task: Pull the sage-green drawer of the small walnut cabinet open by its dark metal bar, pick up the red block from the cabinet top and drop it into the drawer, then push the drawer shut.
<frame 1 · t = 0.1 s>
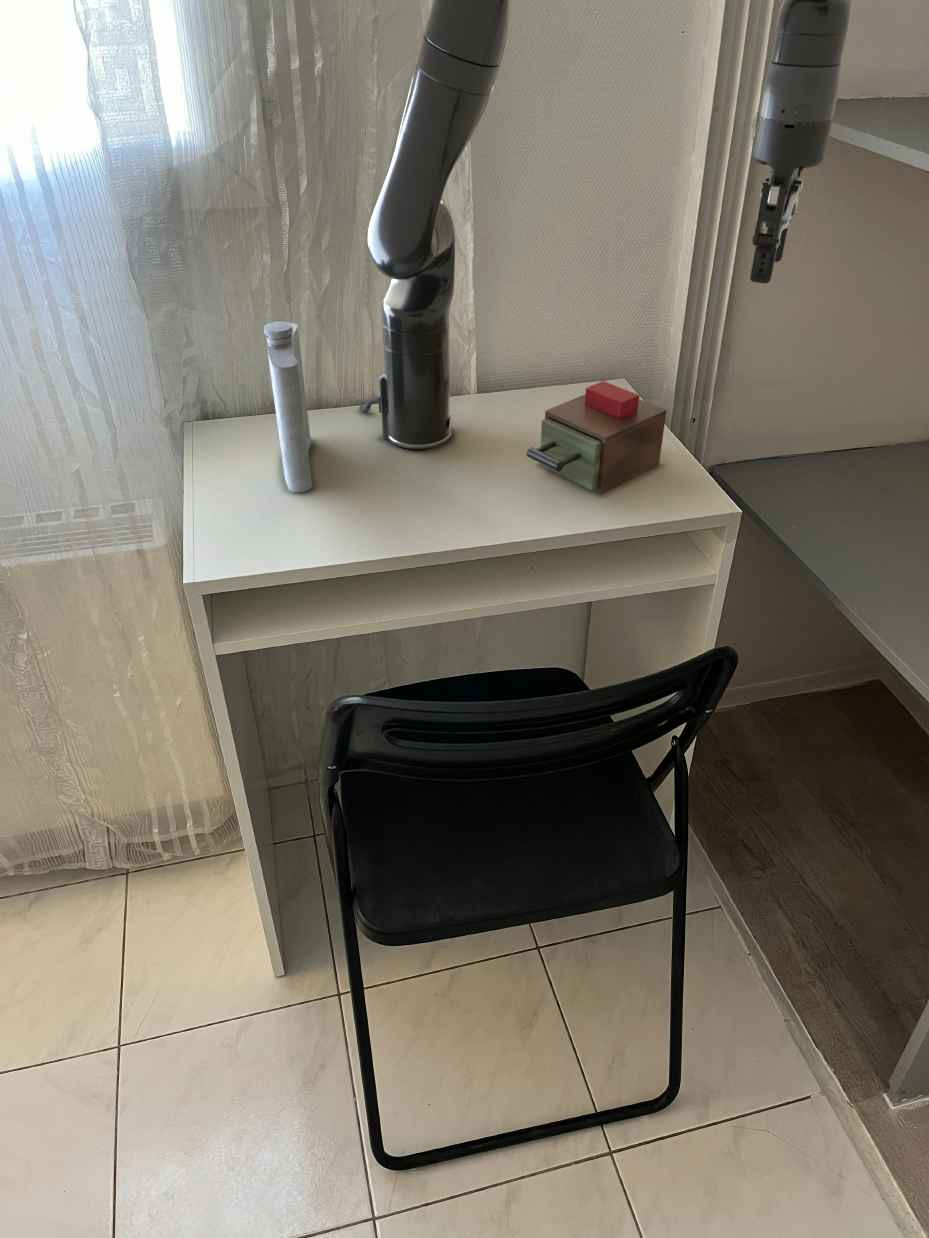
hand: (765, 271, 107), 29 cm above the table, tool pointing down, fingers open, 8 cm apart
drawer: (582, 447, 127), point 4 cm above the table, slide at 0.0 cm
cabinet: (600, 465, 131), on the table
hip flask: (297, 466, 132), on the table
red block: (610, 408, 127), point 8 cm above the table, touching cabinet
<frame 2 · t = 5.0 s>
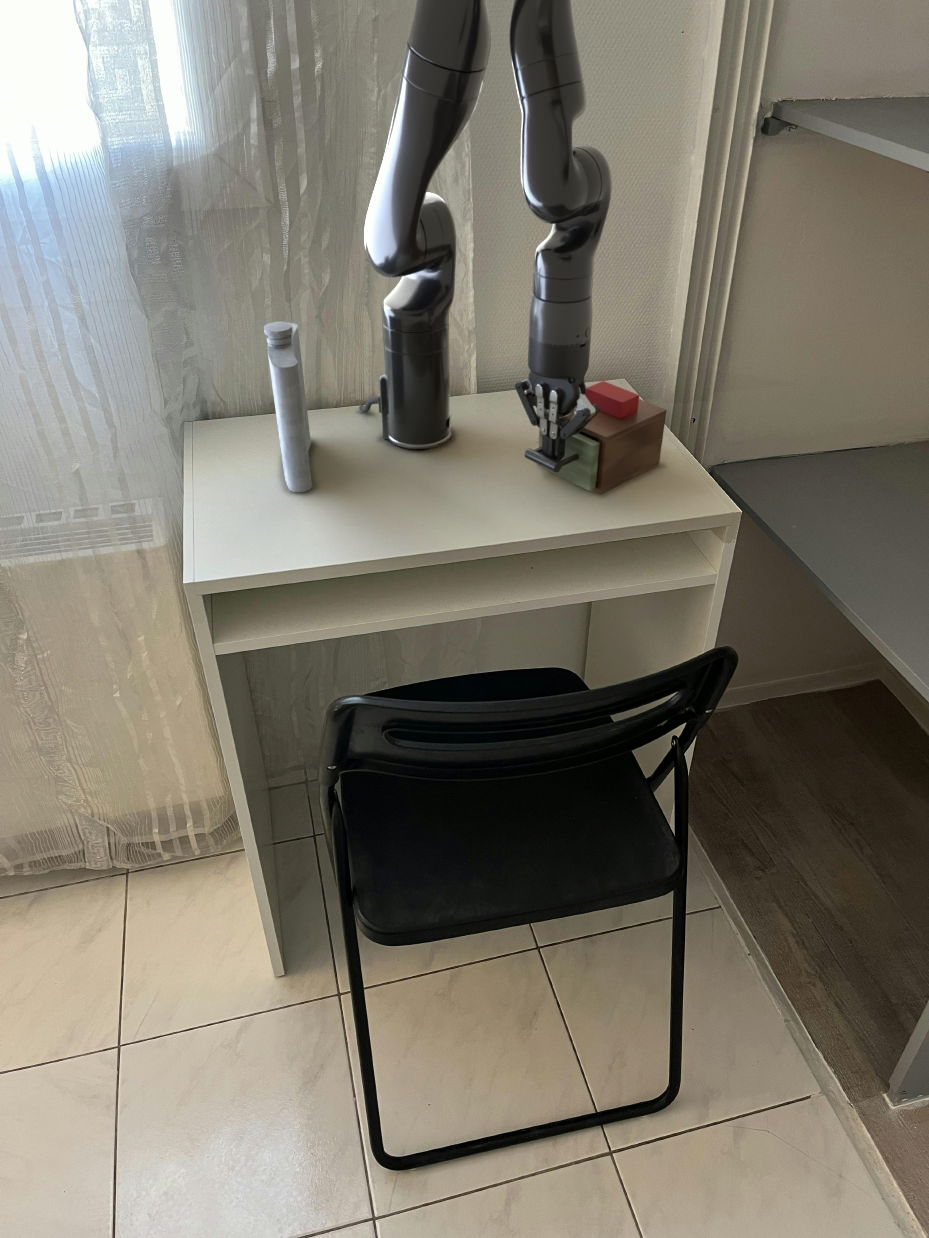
hand: (552, 460, 123), 4 cm above the table, tool pointing down, fingers closed
drawer: (580, 448, 127), point 4 cm above the table, slide at 0.4 cm, touching gripper
everything else where it was.
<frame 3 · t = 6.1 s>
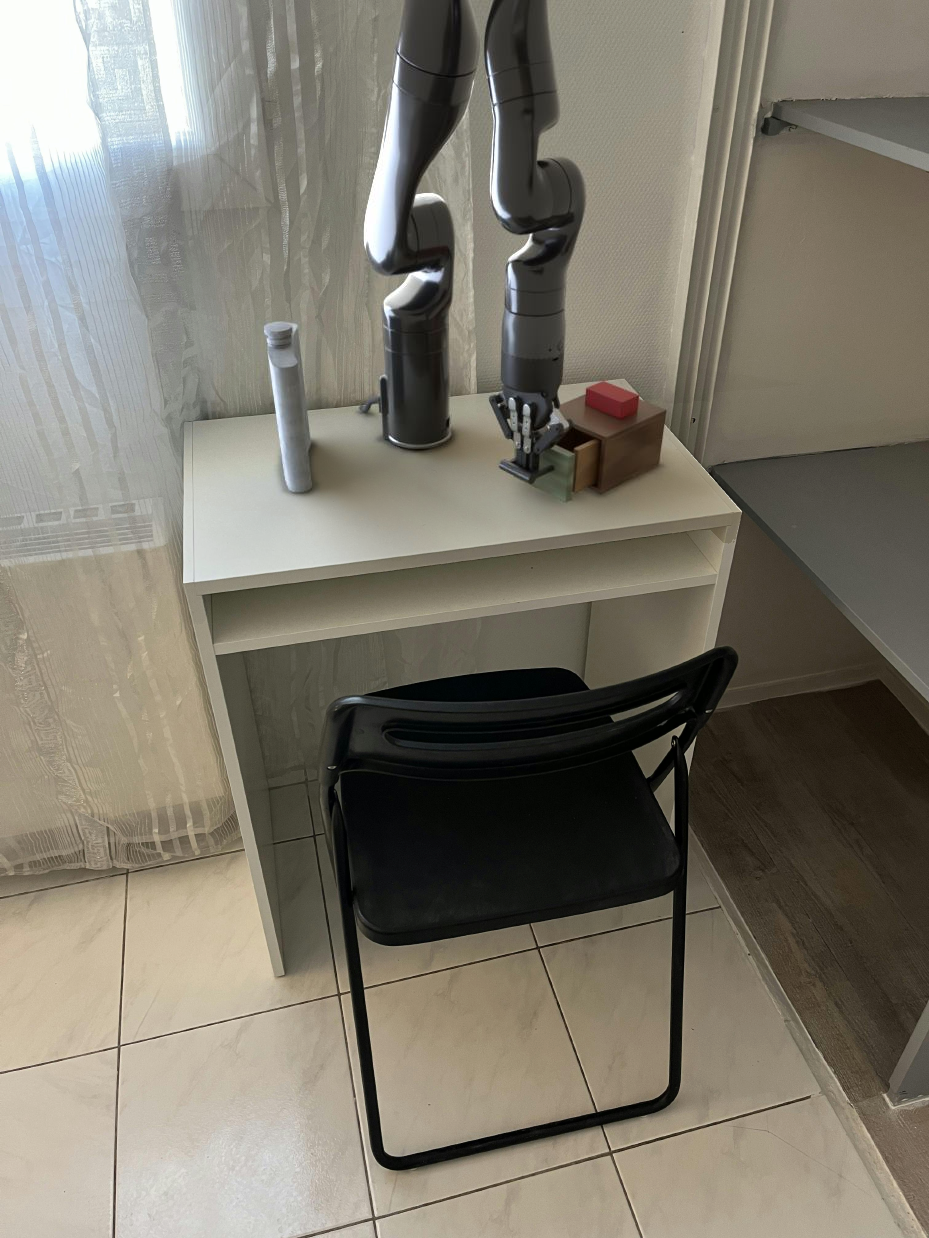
hand: (527, 474, 121), 4 cm above the table, tool pointing down, fingers closed
drawer: (557, 459, 124), point 4 cm above the table, slide at 5.1 cm, touching gripper
everything else where it was.
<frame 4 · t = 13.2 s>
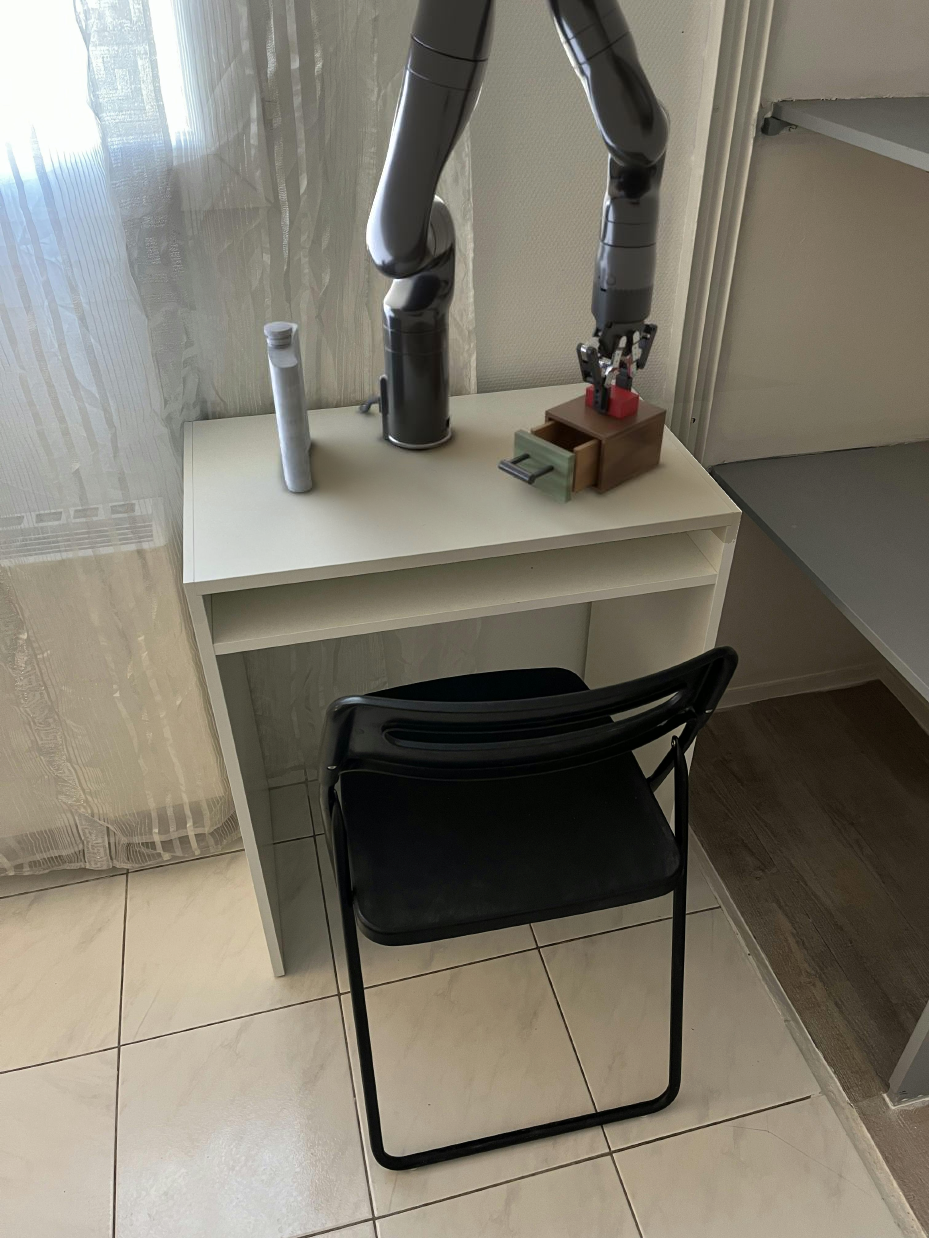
hand: (611, 406, 127), 9 cm above the table, tool pointing down, fingers closed on red block, 3 cm apart
drawer: (556, 459, 124), point 4 cm above the table, slide at 5.2 cm
red block: (610, 408, 127), point 8 cm above the table, touching cabinet, gripper
everything else where it was.
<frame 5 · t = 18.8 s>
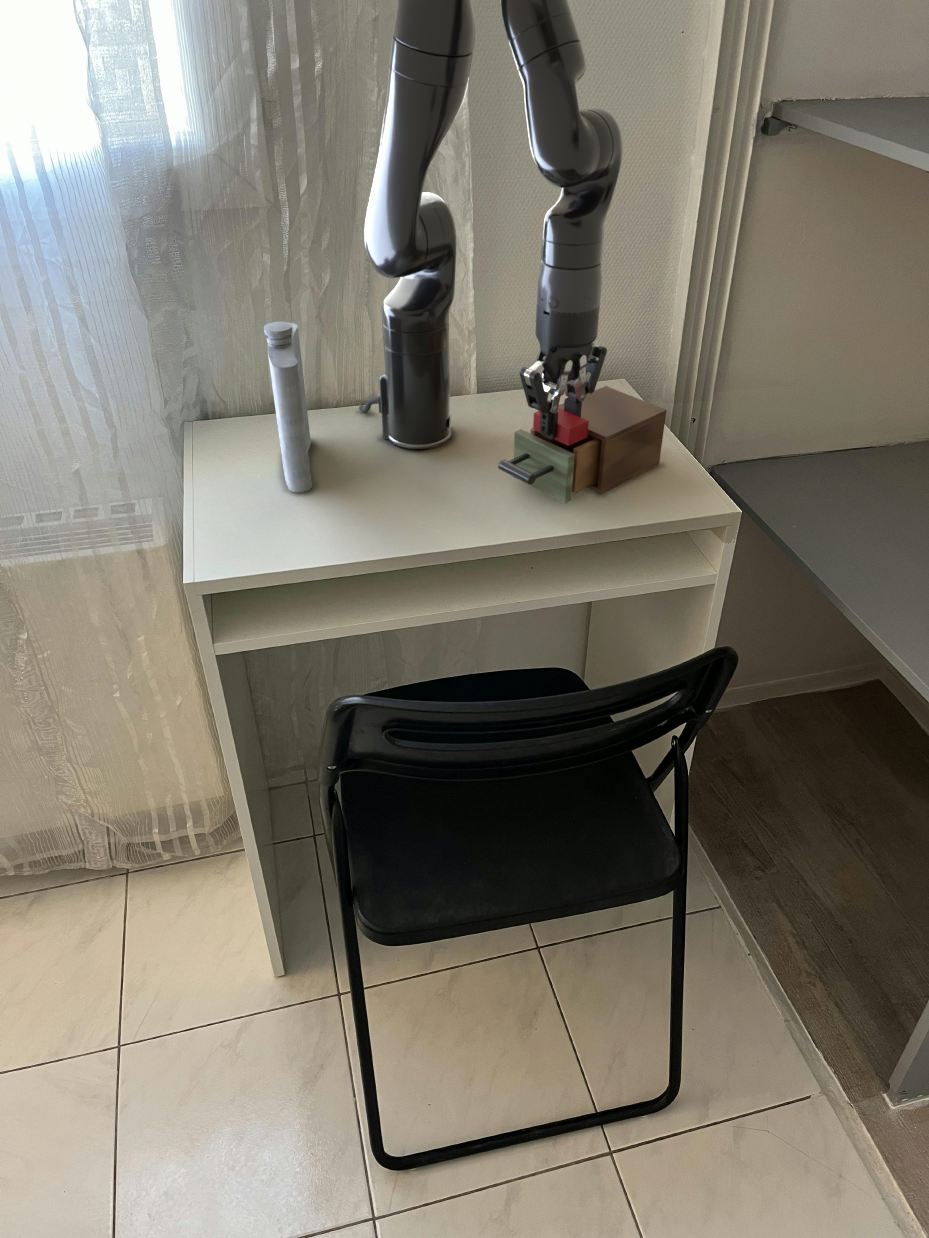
hand: (559, 431, 122), 8 cm above the table, tool pointing down, fingers closed on red block, 3 cm apart
red block: (559, 433, 122), point 8 cm above the table, touching gripper
everything else where it was.
when the fingers open (8 cm above the table, at t = 24.9 s): red block drops 6 cm, resting on drawer.
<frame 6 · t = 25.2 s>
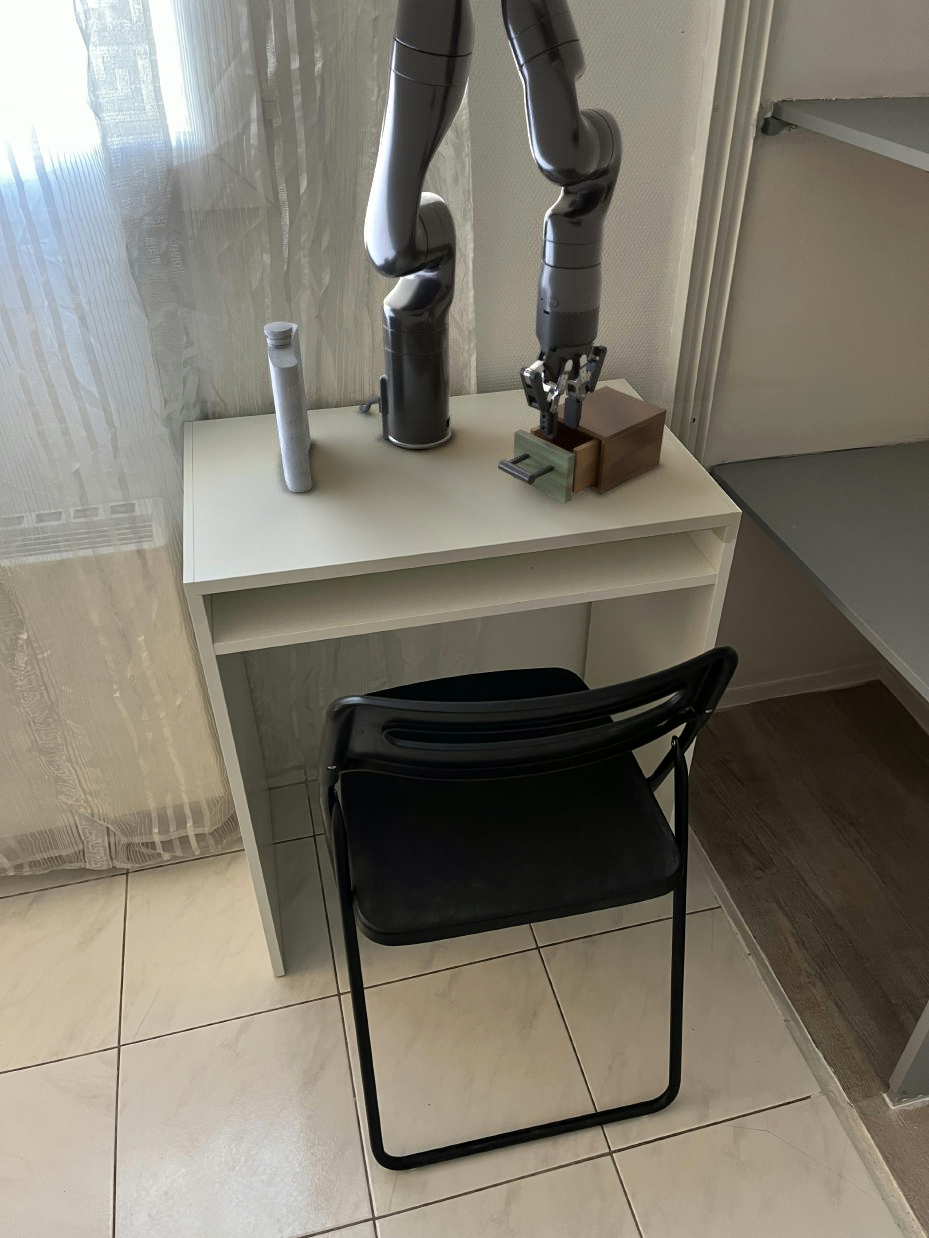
hand: (559, 430, 122), 8 cm above the table, tool pointing down, fingers open, 3 cm apart
drawer: (556, 459, 124), point 4 cm above the table, slide at 5.2 cm, touching red block
red block: (558, 474, 126), point 2 cm above the table, touching drawer
everything else where it was.
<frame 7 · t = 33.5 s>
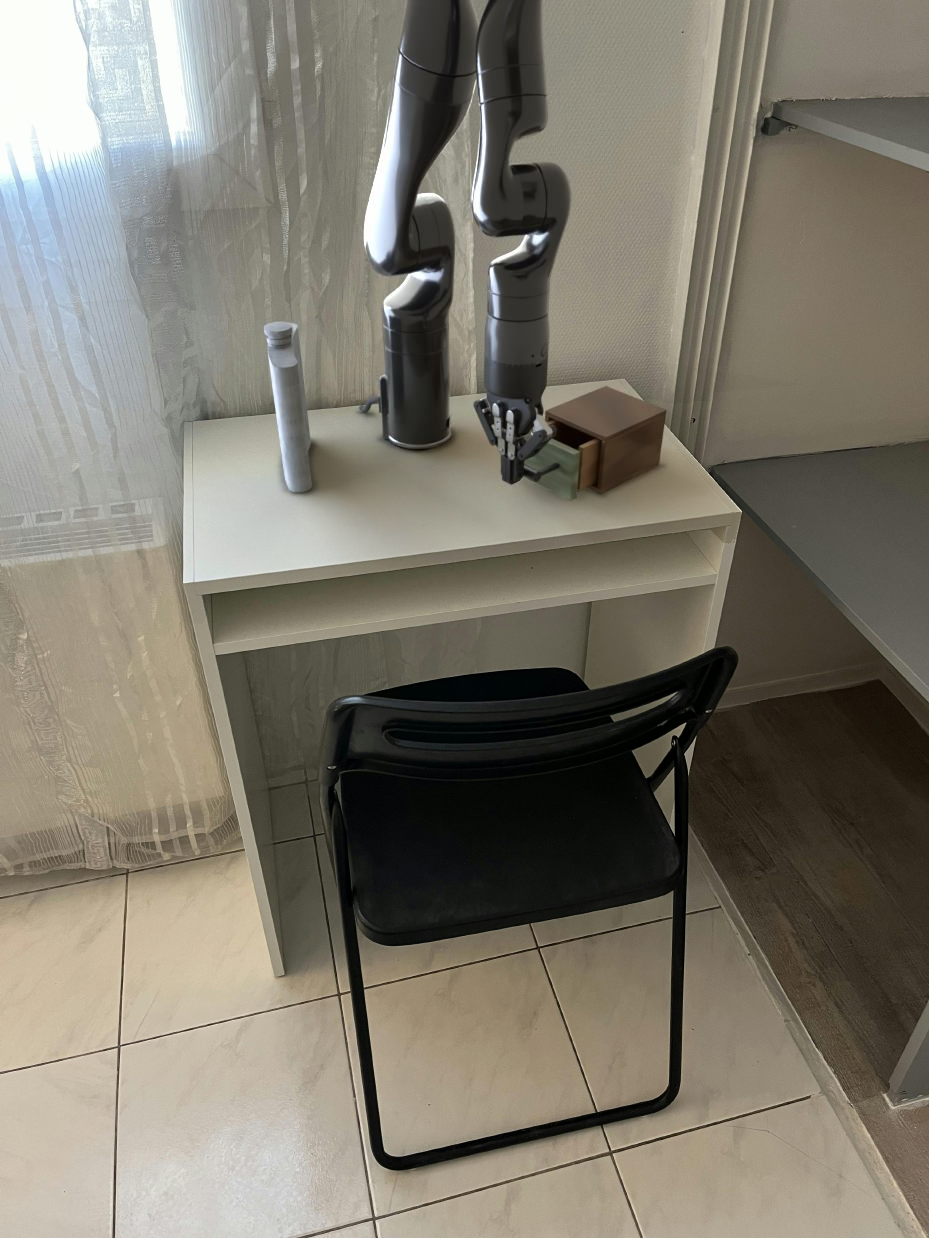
hand: (512, 480, 120), 4 cm above the table, tool pointing down, fingers closed
drawer: (562, 457, 125), point 4 cm above the table, slide at 4.1 cm, touching red block, gripper
red block: (563, 471, 126), point 2 cm above the table, touching drawer
everything else where it was.
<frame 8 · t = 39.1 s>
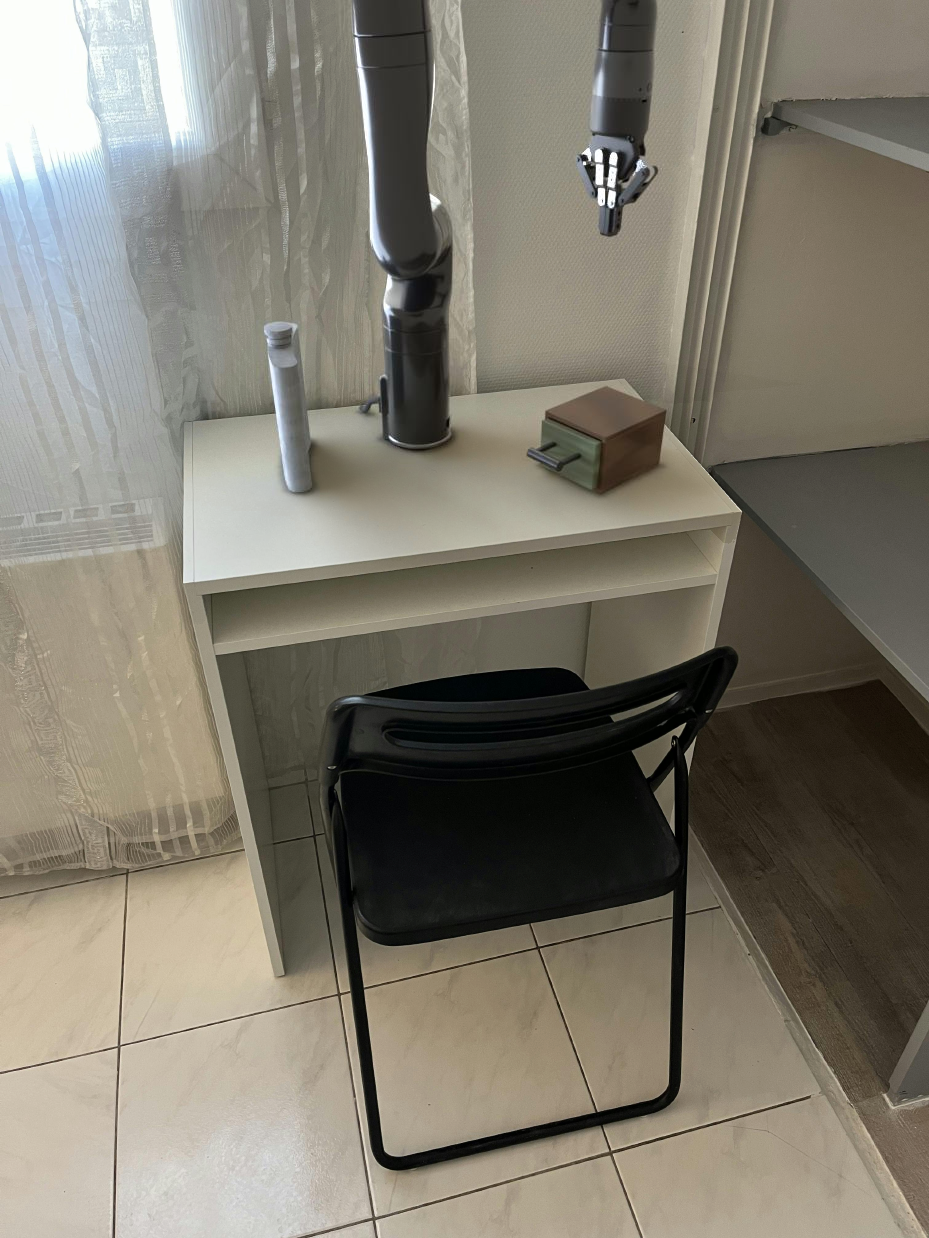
hand: (609, 235, 128), 27 cm above the table, tool pointing down, fingers closed
drawer: (582, 447, 127), point 4 cm above the table, slide at 0.0 cm, touching cabinet, red block
red block: (584, 462, 128), point 2 cm above the table, touching drawer
everything else where it was.
at the end: drawer pulled out 5.2 cm at the most during the clip, back to where it started at the end; red block inside the target area in the cabinet (1.1 cm from its centre), point 1.9 cm above the cabinet's base; drawer slide at 0.0 cm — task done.
